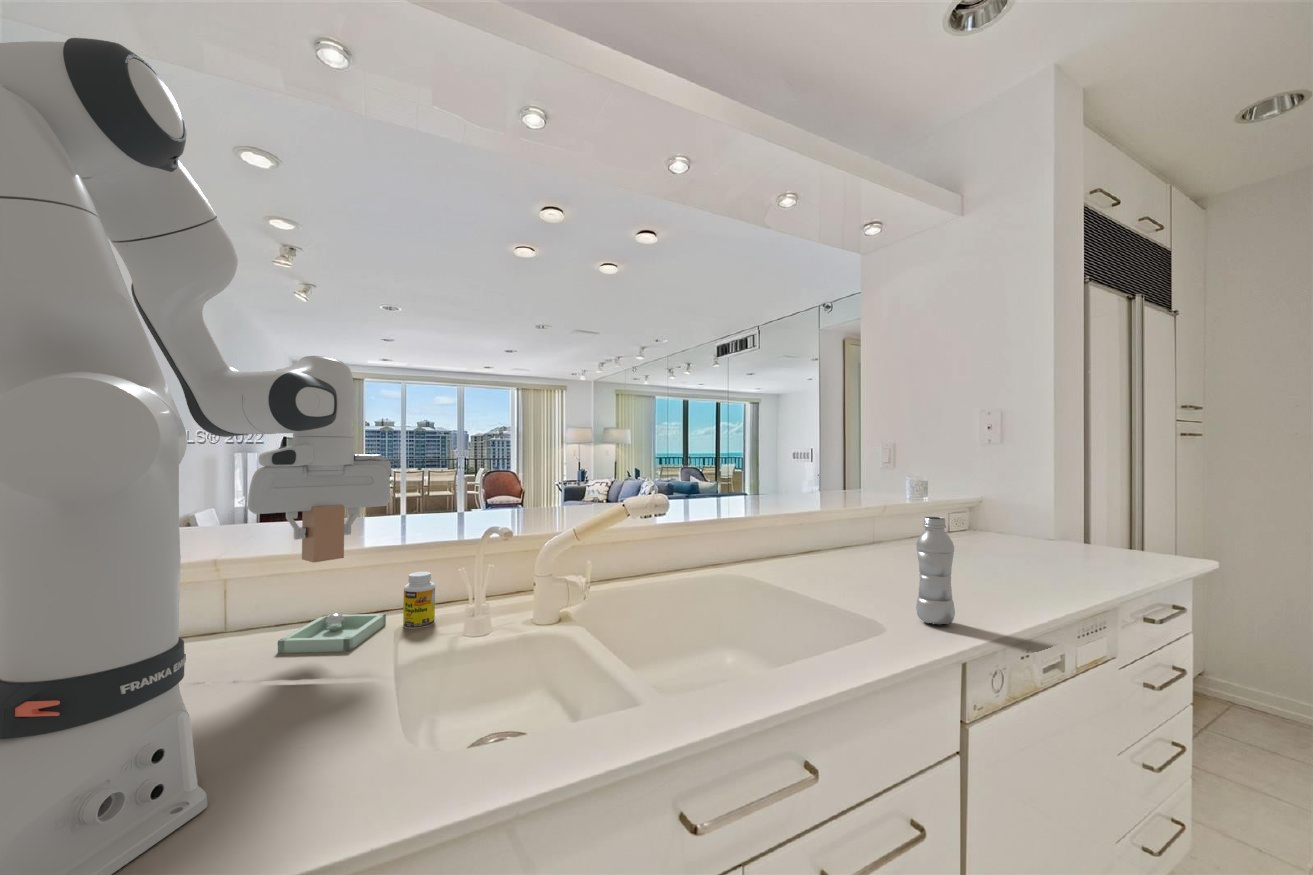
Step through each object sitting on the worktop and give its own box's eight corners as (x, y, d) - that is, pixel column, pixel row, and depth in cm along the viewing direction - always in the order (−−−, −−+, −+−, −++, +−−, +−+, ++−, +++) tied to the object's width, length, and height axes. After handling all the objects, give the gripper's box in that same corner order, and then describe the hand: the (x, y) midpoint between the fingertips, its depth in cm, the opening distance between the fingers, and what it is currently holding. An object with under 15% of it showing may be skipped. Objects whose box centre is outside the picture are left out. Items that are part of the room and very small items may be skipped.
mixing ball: (338, 633, 92) (339, 616, 92) (321, 633, 92) (321, 616, 92) (347, 627, 95) (348, 611, 95) (330, 628, 95) (330, 611, 95)
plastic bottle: (908, 621, 101) (907, 516, 101) (932, 616, 104) (931, 515, 104) (938, 631, 95) (937, 520, 96) (963, 626, 98) (962, 519, 98)
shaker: (313, 562, 85) (314, 499, 85) (301, 559, 88) (302, 498, 88) (343, 557, 89) (344, 497, 89) (331, 554, 91) (332, 496, 92)
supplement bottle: (398, 632, 94) (399, 577, 94) (408, 622, 99) (409, 570, 100) (429, 631, 95) (430, 576, 95) (438, 621, 100) (438, 570, 100)
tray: (349, 654, 84) (350, 639, 84) (277, 656, 83) (277, 640, 83) (385, 627, 97) (385, 613, 97) (323, 628, 96) (323, 615, 96)
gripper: (386, 454, 98) (385, 528, 97) (247, 454, 84) (246, 541, 84) (395, 454, 93) (394, 532, 93) (250, 455, 80) (248, 546, 79)
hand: (322, 536), depth 88 cm, fingers closed on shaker, 5 cm apart
